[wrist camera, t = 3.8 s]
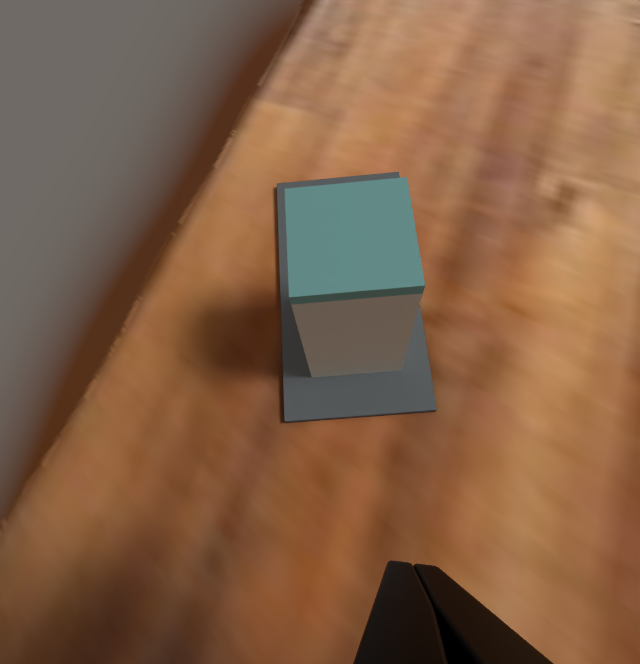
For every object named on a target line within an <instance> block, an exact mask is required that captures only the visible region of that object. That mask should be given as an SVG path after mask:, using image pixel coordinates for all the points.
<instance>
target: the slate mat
mask: <svg viewBox="0 0 640 664" xmlns="http://www.w3.org/2000/svg"><path fill="white" fill-rule="evenodd" d="M392 178H400V177H399V172H393V173H382V174H372V175H361V176H351V177H341V178H330V179H320V180H309V181H299V182H289V183H278V184H277V206H278V236H279V267H280V297H281V328H282V358H283V389H284V420H285V423H290V422H303V421H316V420H329V419H342V418H355V417H369V416H382V415H395V414H408V413H421V412H434V411H436V410H437V408H436V402H435V396H434V390H433V383H432V377H431V371H430V365H429V358H428V352H427V346H426V340H425V333H424V327H423V321H422V315H421V308H420V305H419V308H418V312H417V315H416V319H415V322H414V326H413V329H412V333H411V337H410V340H409V344H408V347H407V351H406V354H405V358H404V361H403V365H402V368H401V371H389V372H376V373H364V374H351V375H339V376H326V377H314V378H312V377H311V373H310V370H309V366H308V363H307V359H306V355H305V352H304V348H303V345H302V341H301V338H300V334H299V331H298V327H297V324H296V320H295V317H294V313H293V310H292V306H291V302H290V299H289V284H288V259H287V235H286V210H285V189H287V188H298V187H308V186H318V185H329V184H339V183H350V182H360V181H371V180H381V179H392Z"/></svg>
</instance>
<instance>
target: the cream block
mask: <svg viewBox="0 0 640 664" xmlns="http://www.w3.org/2000/svg"><path fill="white" fill-rule="evenodd" d="M285 210H286V235H287V259H288V284H289V299H290V302H291V306H292V310H293V313H294V317H295V320H296V324H297V327H298V331H299V334H300V338H301V341H302V345H303V348H304V352H305V355H306V359H307V363H308V366H309V370H310V373H311V377H312V378H314V377H326V376H339V375H351V374H364V373H376V372H389V371H401V368H402V365H403V361H404V358H405V354H406V351H407V347H408V344H409V340H410V337H411V333H412V329H413V326H414V322H415V319H416V315H417V312H418V308H419V305H420V301H421V298H422V294H423V291H424V287H425V282H424V276H423V270H422V264H421V259H420V253H419V247H418V241H417V235H416V229H415V223H414V217H413V211H412V205H411V199H410V193H409V187H408V181H407V177H402V178H392V179H381V180H371V181H360V182H350V183H339V184H329V185H318V186H308V187H298V188H287V189H285Z"/></svg>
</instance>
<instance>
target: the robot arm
mask: <svg viewBox="0 0 640 664" xmlns="http://www.w3.org/2000/svg"><path fill="white" fill-rule="evenodd" d="M353 664H553V663H552V662H551V661H550V660H548V659H547V658H546V657H545V656H544V655H542V654H541V653H540V652H539V651H538V650H536V649H535V648H534V647H533V646H532V645H530V644H529V643H528V642H527V641H526V640H524V639H523V638H522V637H521V636H520V635H518V634H517V633H516V632H515V631H514V630H513V629H511V628H510V627H509V626H508V625H507V624H505V623H504V622H503V621H502V620H501V619H499V618H498V617H497V616H496V615H495V614H493V613H492V612H491V611H490V610H489V609H487V608H486V607H485V606H484V605H483V604H481V603H480V602H479V601H478V600H477V599H475V598H474V597H473V596H472V595H471V594H469V593H468V592H467V591H466V590H465V589H463V588H462V587H461V586H460V585H459V584H457V583H456V582H455V581H454V580H453V579H452V578H450V577H449V576H448V575H447V574H446V573H444V572H443V571H442V570H441V569H440V568H438V567H436V566H432V565H424V564H415V565H412V564H411V563H408V562H400V561H389V562H388V563H387V566H386V569H385V572H384V575H383V578H382V581H381V583H380V586H379V589H378V592H377V595H376V598H375V601H374V604H373V607H372V610H371V613H370V616H369V619H368V622H367V625H366V628H365V630H364V633H363V636H362V639H361V642H360V645H359V648H358V651H357V654H356V657H355V660H354V663H353Z"/></svg>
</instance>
